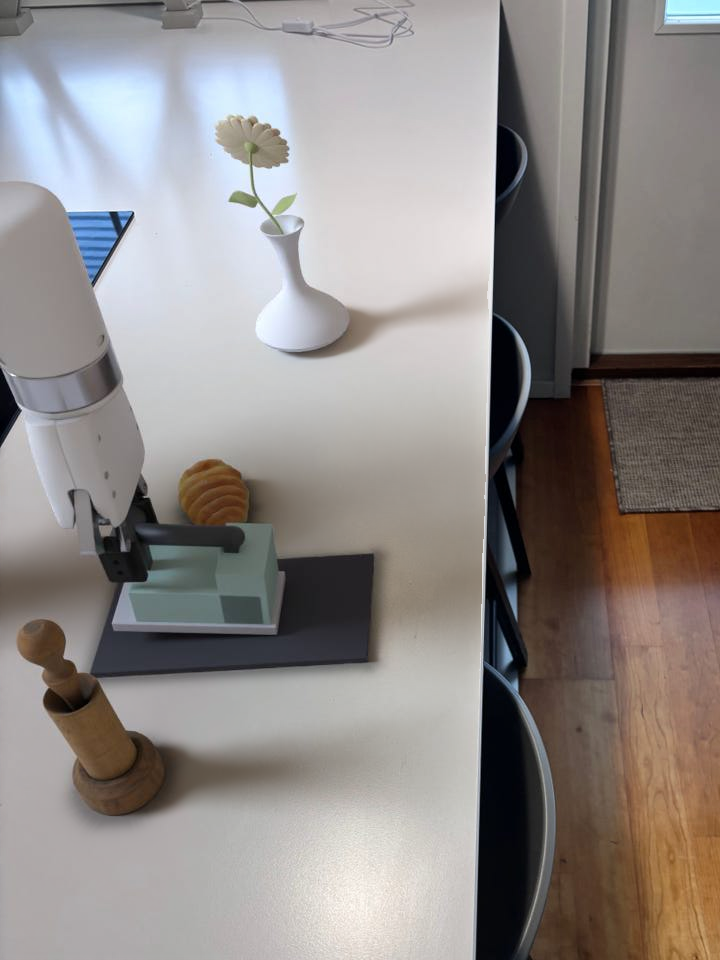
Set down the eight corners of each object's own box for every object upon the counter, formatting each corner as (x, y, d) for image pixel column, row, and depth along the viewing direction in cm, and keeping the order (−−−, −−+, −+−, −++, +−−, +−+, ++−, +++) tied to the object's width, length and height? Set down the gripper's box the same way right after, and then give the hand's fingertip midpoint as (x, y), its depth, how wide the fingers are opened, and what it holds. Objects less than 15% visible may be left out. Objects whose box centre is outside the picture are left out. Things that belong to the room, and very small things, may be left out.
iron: (113, 631, 85) (88, 551, 78) (130, 574, 90) (108, 494, 83) (277, 635, 86) (266, 556, 79) (285, 578, 91) (276, 499, 84)
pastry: (266, 529, 96) (257, 500, 94) (199, 553, 95) (188, 523, 92) (239, 476, 102) (230, 447, 99) (176, 497, 101) (165, 468, 98)
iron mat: (91, 677, 85) (89, 673, 85) (124, 572, 94) (122, 567, 93) (367, 662, 84) (366, 657, 84) (374, 557, 93) (373, 552, 93)
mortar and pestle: (64, 791, 77) (-40, 639, 64) (125, 733, 81) (39, 578, 67) (121, 830, 75) (26, 680, 61) (182, 769, 78) (104, 614, 65)
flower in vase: (370, 325, 120) (336, 108, 102) (310, 371, 114) (262, 149, 96) (291, 299, 126) (245, 88, 107) (229, 342, 120) (169, 126, 101)
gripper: (43, 310, 75) (114, 493, 89) (-28, 447, 64) (66, 633, 78) (141, 307, 75) (197, 491, 89) (87, 443, 64) (161, 630, 78)
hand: (135, 555), depth 83 cm, fingers closed on iron, 4 cm apart
